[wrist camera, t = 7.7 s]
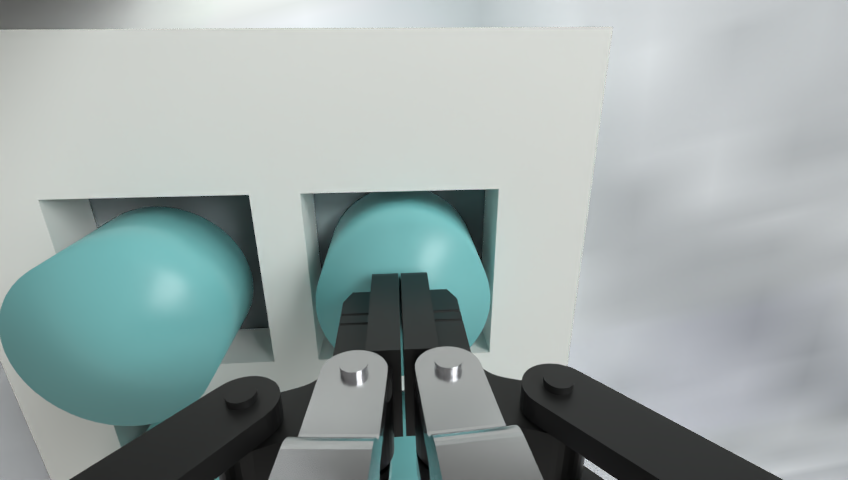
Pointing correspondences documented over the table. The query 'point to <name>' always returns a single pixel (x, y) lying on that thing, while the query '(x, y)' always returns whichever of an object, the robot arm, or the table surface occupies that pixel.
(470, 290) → the button
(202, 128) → the board
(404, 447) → the button
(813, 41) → the table surface
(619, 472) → the robot arm
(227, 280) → the button
